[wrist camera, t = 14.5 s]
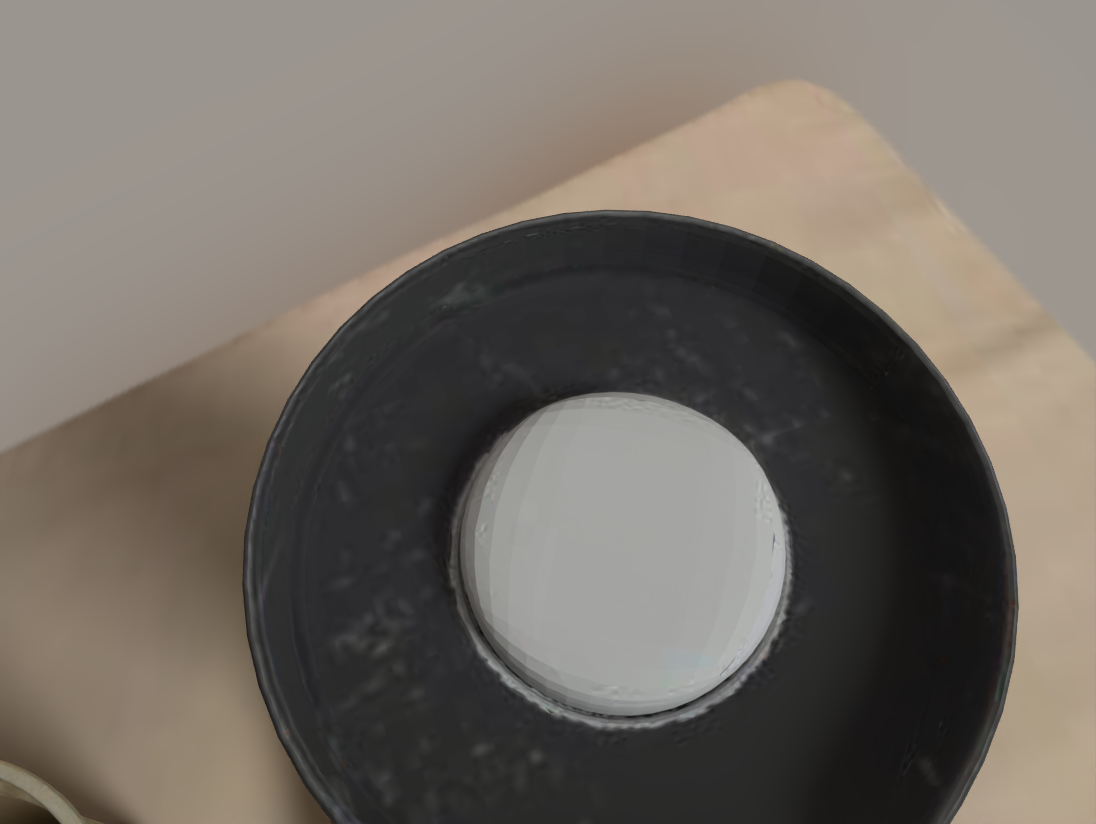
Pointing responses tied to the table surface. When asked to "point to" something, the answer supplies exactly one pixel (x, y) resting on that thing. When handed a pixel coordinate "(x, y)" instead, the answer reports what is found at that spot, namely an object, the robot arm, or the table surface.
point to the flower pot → (33, 800)
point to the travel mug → (629, 544)
